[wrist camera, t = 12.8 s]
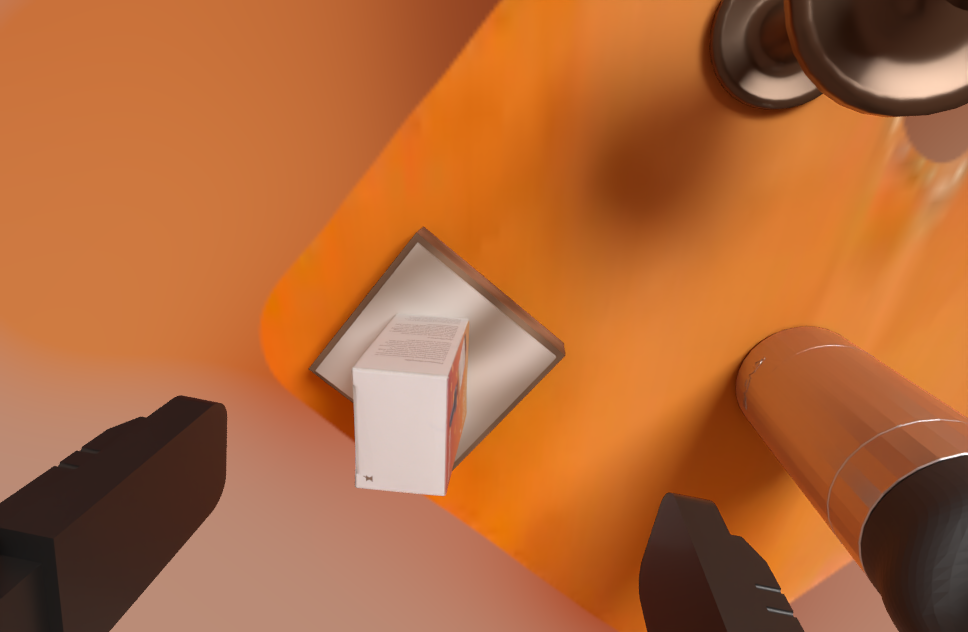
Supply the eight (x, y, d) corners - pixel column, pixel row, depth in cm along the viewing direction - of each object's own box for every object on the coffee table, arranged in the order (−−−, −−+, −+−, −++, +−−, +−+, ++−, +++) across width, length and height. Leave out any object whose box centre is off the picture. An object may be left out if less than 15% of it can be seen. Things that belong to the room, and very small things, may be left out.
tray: (563, 342, 43) (565, 357, 40) (452, 457, 47) (447, 477, 44) (423, 226, 41) (415, 233, 38) (320, 356, 45) (306, 371, 42)
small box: (467, 414, 42) (446, 501, 32) (395, 408, 43) (353, 492, 33) (471, 316, 40) (450, 376, 30) (395, 310, 40) (349, 368, 30)
